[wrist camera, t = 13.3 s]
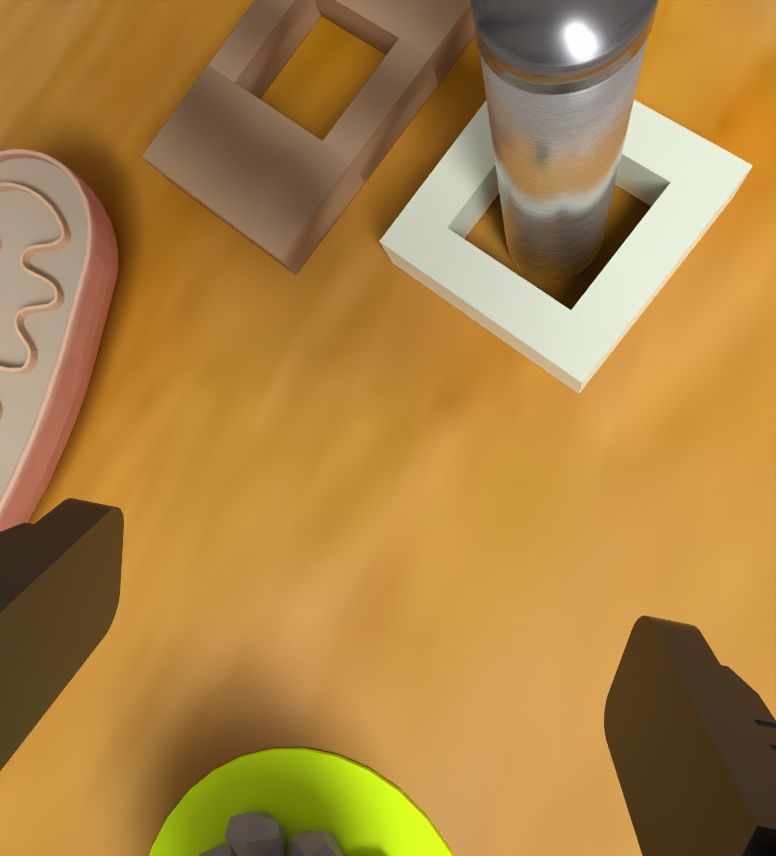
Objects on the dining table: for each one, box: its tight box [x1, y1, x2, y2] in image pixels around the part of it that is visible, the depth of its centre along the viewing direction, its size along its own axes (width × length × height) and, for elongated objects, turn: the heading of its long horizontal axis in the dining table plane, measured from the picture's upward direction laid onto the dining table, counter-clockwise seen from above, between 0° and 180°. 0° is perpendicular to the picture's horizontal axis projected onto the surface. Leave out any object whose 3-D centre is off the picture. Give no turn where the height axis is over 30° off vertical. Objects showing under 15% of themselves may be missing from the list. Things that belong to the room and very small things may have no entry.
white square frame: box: [379, 100, 753, 394], centre depth 27 cm, size 10×10×2 cm
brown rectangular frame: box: [141, 0, 475, 275], centre depth 30 cm, size 16×9×2 cm, turn 142°
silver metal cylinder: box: [471, 0, 658, 281], centre depth 21 cm, size 4×4×14 cm
